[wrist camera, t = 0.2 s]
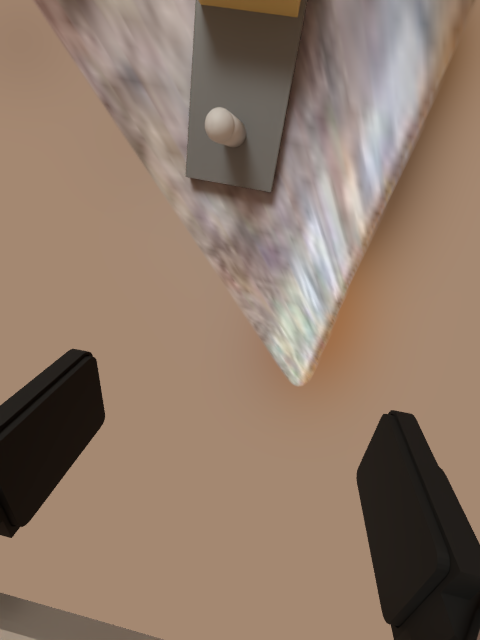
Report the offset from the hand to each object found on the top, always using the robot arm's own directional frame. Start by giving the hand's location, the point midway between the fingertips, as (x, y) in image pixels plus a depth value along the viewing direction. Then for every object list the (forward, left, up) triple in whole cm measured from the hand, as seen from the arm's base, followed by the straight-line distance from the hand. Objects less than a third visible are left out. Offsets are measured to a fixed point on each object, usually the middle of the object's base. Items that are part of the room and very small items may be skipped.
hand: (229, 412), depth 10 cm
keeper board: (-16, -7, -31) cm, 36 cm away
